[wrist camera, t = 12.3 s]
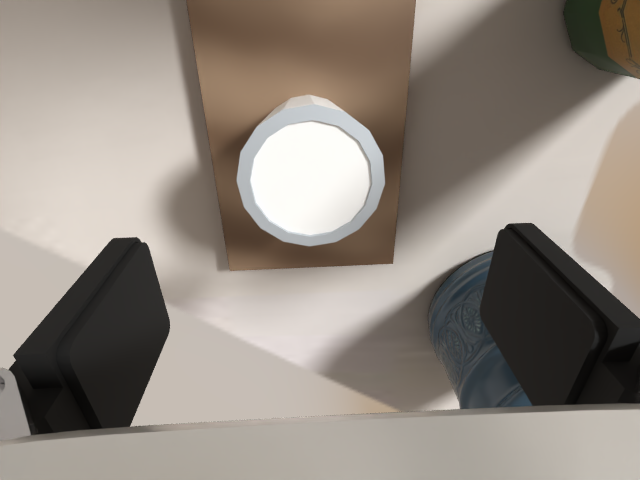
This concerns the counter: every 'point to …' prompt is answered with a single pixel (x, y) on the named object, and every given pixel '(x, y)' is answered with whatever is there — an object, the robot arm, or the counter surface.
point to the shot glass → (310, 172)
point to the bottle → (606, 33)
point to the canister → (471, 342)
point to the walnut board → (298, 80)
